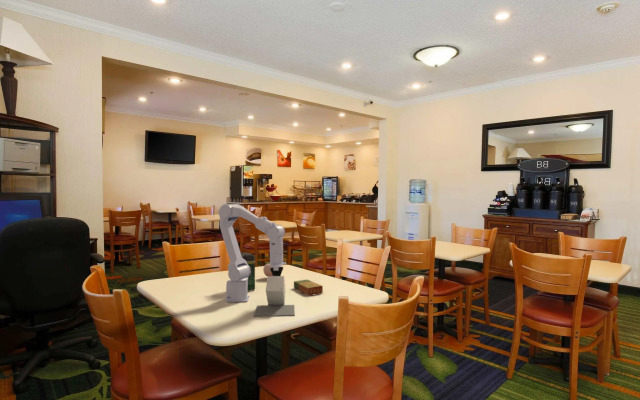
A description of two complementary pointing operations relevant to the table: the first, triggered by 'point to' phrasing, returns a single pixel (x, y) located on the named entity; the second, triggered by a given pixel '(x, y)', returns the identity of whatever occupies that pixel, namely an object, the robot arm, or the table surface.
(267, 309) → the mat
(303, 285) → the carton
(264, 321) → the table surface
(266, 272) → the decorative fruit
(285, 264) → the robot arm
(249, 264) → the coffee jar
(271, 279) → the supplement box
